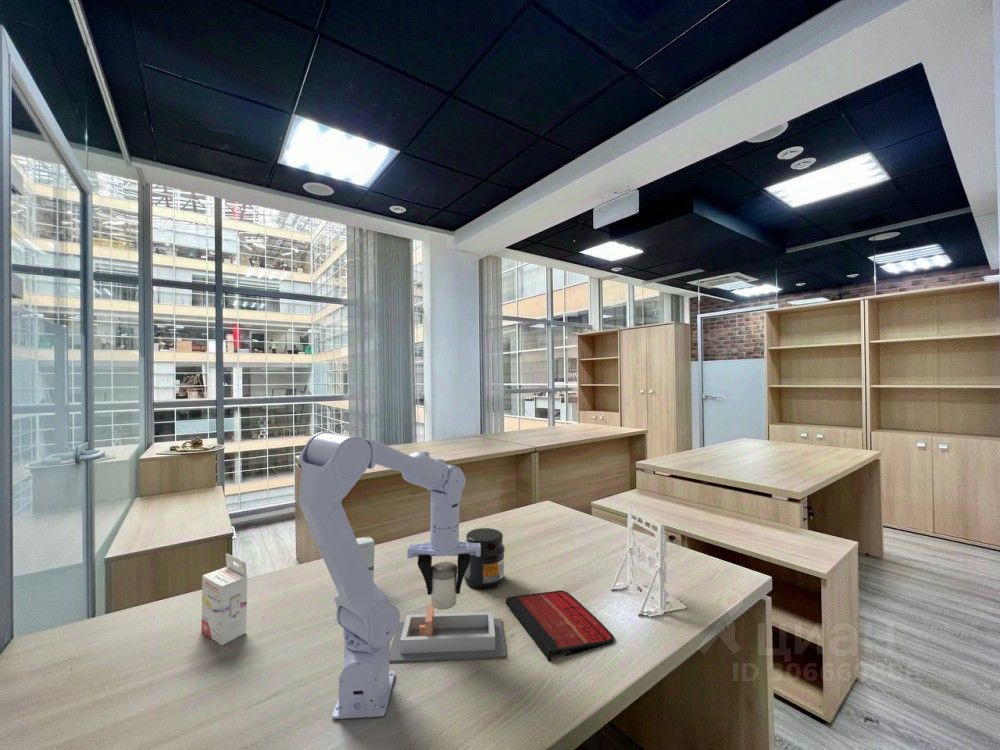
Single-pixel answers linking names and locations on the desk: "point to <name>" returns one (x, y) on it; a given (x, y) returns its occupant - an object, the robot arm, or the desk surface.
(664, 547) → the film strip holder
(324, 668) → the desk surface
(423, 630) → the pusher
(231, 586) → the ink cartridge box
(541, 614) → the binder
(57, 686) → the desk surface
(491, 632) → the base
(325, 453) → the robot arm
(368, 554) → the skincare box
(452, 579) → the jar
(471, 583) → the supplement container
